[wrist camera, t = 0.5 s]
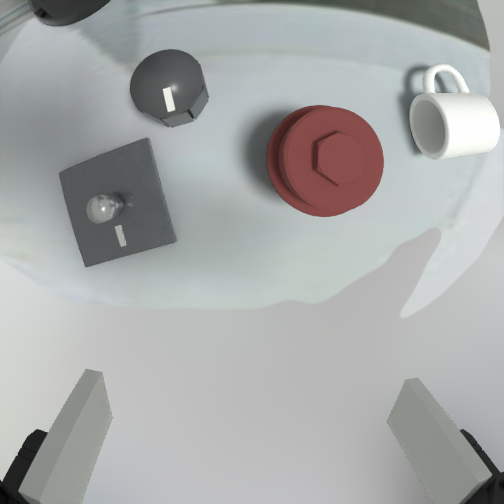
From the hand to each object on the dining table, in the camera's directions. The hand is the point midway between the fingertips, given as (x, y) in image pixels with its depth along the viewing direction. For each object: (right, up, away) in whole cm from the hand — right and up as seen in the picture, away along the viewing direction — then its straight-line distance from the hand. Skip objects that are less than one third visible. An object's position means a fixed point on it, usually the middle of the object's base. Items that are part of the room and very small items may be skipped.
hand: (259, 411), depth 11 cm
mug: (+24, +25, +21) cm, 41 cm away
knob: (-9, +24, +19) cm, 32 cm away
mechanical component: (+5, +16, +22) cm, 28 cm away
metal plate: (-16, +12, +21) cm, 29 cm away
